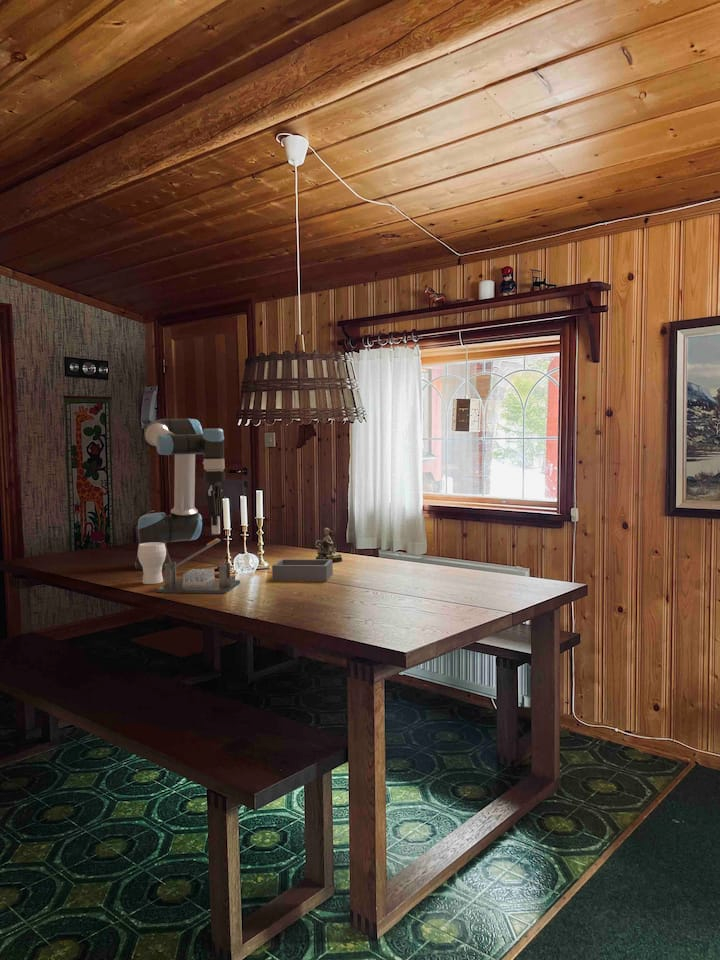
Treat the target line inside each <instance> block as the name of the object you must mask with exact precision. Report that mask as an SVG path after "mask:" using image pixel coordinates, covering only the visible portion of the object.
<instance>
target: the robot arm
mask: <svg viewBox="0 0 720 960" xmlns="http://www.w3.org/2000/svg"><path fill="white" fill-rule="evenodd" d="M143 435H144V438H145V441H146V442H147V443H148V444H149V445H151V446H154V447H156V451H157V453H158V455H161V456H162V455H163V456H164V455H165V456H170V455H172V456H173V455H174V498H173V499H174V502H173V504H174V505H173V508H171V510H170V514H168V515H167V513H166V512H161V511H160V512H152V513H147V514H144V515H141V516H139V518H138V521H137V531H138V545H139V544H142V543H150V542H161V543H164V544H165V548H166V557H165V561H164V563H163V565H162V570H163V569H164V570H165V564H170V562H172V559H171V557H170V553H169V551H168V549H167V548H168V547H167V546H168V545H167V543H173V542H186V541H187V542H189V541H195V540H197V539H198V538H200V536H201V533H202V530H203V529H202V528H203V517H202V515H201V514H200V513H199V510H198V509H197V508H196V507H195V500H196V499H195V495H196V494H195V489H196V487H195V486H196V485H195V483H196V470H195V469H196V455H203V461H202V464H203V470H204V472H203V480H204V482H208V486H207V489H206V490H205V494H206V499H207V507H208V517H211V520H210V521H211V535H220V534H221V519H220V517H222V516H223V514H222V513H223V512H222V511H223V495H224V488H223V487H222V485H221V482H224V481H225V479H226V473H225V469H226V468H225V435H224V430H223V428H204V429H203V428H202V425H201V423H200V421H199V420H198V419H196V418H160V419H156V420H154V421H152V422H150V423H149V424H148V425H147V426H146V427H145V429H144V433H143ZM134 569H136V570H138V571H139V570H141V571H143V567H142V565H141V563H140V562H139V558H138V554H137V555H136V560H135V562H134Z"/></svg>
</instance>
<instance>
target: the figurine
mask: <svg viewBox="0 0 720 960" xmlns="http://www.w3.org/2000/svg"><path fill="white" fill-rule="evenodd" d="M323 533H324V536H323V538H322V540H316V542H315V543H314V544H315V545H314V547H315V550H316V552H317V556H316V557H315V559H329V560H332V561H333V564H338V563H341V562H343V557H342V554H341V553H337V548H336V547H334V546H333V545H334V542H333V540H332V538H331V537H333V531H332V530H331V529H330V528H328V527H324V528H323Z"/></svg>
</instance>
